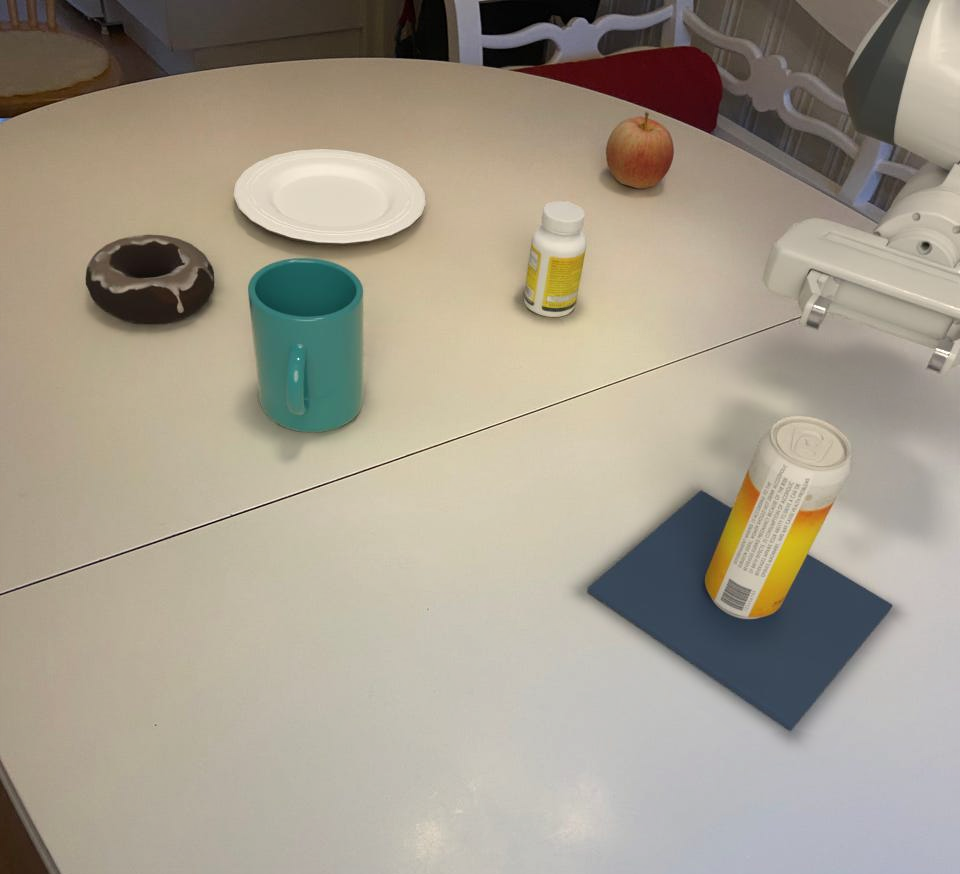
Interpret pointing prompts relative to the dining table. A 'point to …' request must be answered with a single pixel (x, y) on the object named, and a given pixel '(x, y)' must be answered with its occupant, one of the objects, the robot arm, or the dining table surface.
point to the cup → (308, 343)
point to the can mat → (735, 641)
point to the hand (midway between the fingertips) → (874, 341)
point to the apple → (639, 152)
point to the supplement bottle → (556, 260)
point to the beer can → (777, 515)
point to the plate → (329, 197)
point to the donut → (150, 279)
